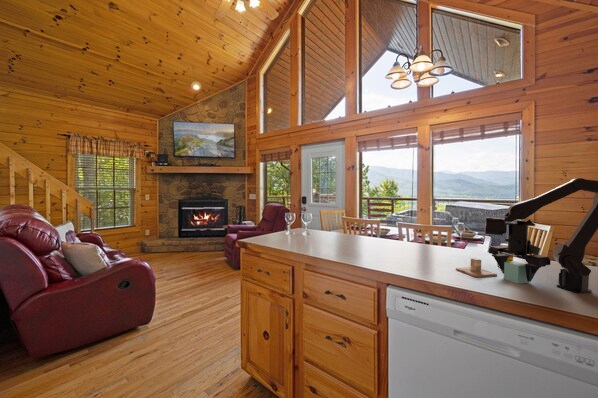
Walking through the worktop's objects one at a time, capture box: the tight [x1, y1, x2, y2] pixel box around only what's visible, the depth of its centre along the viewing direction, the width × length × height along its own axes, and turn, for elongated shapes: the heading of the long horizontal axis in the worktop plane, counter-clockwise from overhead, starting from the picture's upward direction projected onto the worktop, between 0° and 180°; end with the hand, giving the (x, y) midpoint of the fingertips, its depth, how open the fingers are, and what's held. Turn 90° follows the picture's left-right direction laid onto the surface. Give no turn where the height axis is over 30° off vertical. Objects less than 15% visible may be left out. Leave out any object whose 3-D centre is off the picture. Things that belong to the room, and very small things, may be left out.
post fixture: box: [455, 257, 498, 278], centre depth 109 cm, size 10×10×6 cm
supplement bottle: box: [496, 243, 514, 267], centre depth 117 cm, size 6×6×10 cm
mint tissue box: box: [503, 260, 530, 285], centre depth 100 cm, size 5×5×7 cm
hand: (516, 277), depth 100 cm, fingers open, 9 cm apart
